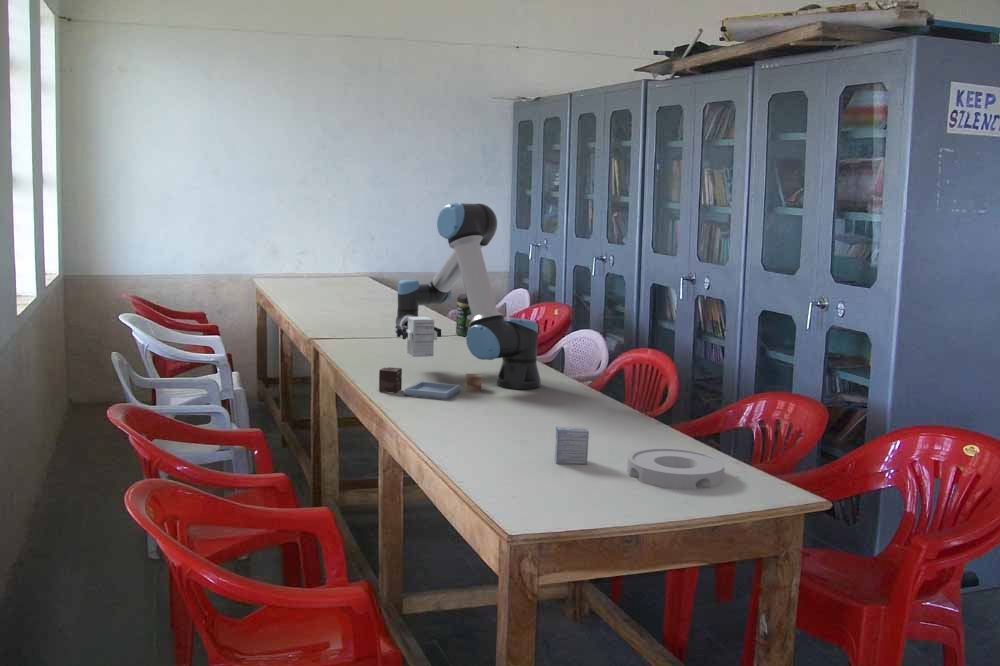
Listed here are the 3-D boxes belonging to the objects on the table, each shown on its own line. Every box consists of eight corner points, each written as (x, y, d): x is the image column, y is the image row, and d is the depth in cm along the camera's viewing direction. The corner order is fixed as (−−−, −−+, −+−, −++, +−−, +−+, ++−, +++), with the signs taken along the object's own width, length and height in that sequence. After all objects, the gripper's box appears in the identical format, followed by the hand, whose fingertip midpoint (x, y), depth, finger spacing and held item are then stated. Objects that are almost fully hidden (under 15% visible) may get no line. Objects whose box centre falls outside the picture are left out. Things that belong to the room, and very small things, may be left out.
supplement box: (406, 353, 335) (407, 316, 334) (427, 352, 338) (428, 316, 336) (412, 357, 329) (413, 319, 327) (433, 356, 331) (434, 319, 329)
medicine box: (585, 460, 250) (587, 426, 249) (587, 465, 246) (589, 431, 244) (554, 459, 250) (555, 425, 248) (555, 464, 245) (557, 430, 244)
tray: (460, 391, 326) (460, 385, 326) (446, 400, 312) (446, 393, 312) (419, 387, 329) (420, 381, 329) (404, 395, 316) (405, 389, 316)
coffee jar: (453, 334, 449) (454, 293, 446) (469, 333, 453) (470, 293, 450) (462, 337, 441) (463, 295, 438) (478, 336, 444) (479, 295, 441)
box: (396, 393, 319) (396, 371, 318) (378, 392, 320) (378, 369, 319) (401, 390, 325) (402, 368, 324) (384, 388, 326) (384, 366, 325)
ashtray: (714, 496, 225) (716, 479, 225) (616, 482, 234) (617, 465, 233) (730, 471, 247) (731, 455, 246) (639, 458, 255) (640, 443, 254)
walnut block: (480, 388, 333) (480, 374, 332) (481, 391, 328) (481, 376, 327) (465, 388, 332) (465, 373, 331) (466, 391, 327) (466, 376, 326)
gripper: (440, 337, 353) (453, 347, 331) (382, 337, 347) (392, 347, 326) (440, 316, 352) (454, 325, 330) (382, 316, 346) (392, 325, 324)
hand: (423, 336), depth 328 cm, fingers closed on supplement box, 8 cm apart
